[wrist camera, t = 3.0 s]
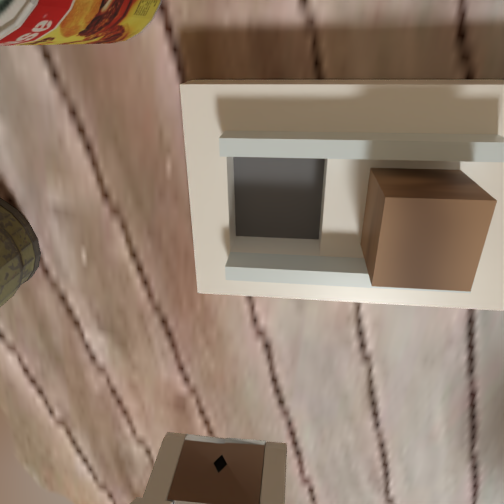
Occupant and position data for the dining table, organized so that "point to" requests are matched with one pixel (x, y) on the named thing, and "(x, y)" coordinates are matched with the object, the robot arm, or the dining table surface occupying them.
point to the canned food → (73, 21)
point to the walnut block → (424, 228)
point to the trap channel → (329, 180)
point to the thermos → (15, 251)
